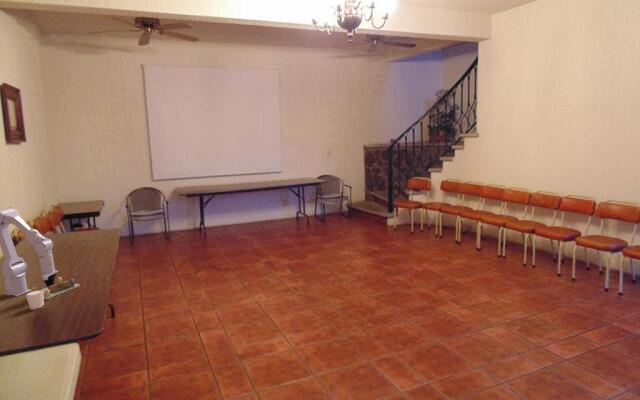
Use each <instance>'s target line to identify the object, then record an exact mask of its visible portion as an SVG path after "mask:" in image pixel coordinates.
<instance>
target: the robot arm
mask: <svg viewBox="0 0 640 400" xmlns="http://www.w3.org/2000/svg"><path fill="white" fill-rule="evenodd" d="M10 224H11V225H14V226H15V227H16V228H17V229H19V230H20V231H21V232H23V233H24V236H25V237H24V238H25V239H26V240H27V241H29V243H31V245H33V246H34V250H35V252H36V253H37V256H38V257H39V264H40V272H41V276H42V277H41V280H42V281H43V282H44V283H45V285H46V288H48V286H50V285H54V284H55V281H56V278H57V273H58V271H59V270H58V269H57V270H56V268H55V262H54V256H53V249H54V246H55V243H54V241H53V240H52V239H50V238H47V237H44V236H43V235H42V234H41V232H39V230H38V229H36V228H31V227H30V226H29V225H28V224H27V223H26V221H24V219H22V217H21V216H20V212H19V211H18V210H17V209H16V208H15V207H13V206H10V207H9V206H8V207H7V208H3V209H0V250H1V252H2V255H3V258H4V261H3V263H2V265H1V268H2V275H3V277H4V278H5V280H4V287H5V292H6V293H4V295H5V296H11V295H13V296H12V297H19V296H22V295H24V294H27V293H29V292H32V290H31V289H29V288H28V285H27V280H26V274H27V273H26V272H28V269H29V268H28V265H27V263H26V262H25V260H24V258H23V257H20V256H18V253H17V251H16V250H17V249H16V248H15V247H16V246H14V245H15V244H14V242H13V240H12V237H11V233H10V232H9V229H8V227H9V226H10Z"/></svg>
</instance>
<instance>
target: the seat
mask: <svg viewBox="0 0 640 400" xmlns="http://www.w3.org/2000/svg"><path fill="white" fill-rule="evenodd" d="M56 281H57V283H61V282H63V277H62V276H58V277H56ZM77 287H78V288H80V287H81V285H80V284H79V283H75V285H74V286H72V287H68V288H65V289H62V290H59V291H55V292H52V293H50V290H48V288H47V287H45V288H42V289H41V290H42V291H43V297H44V300H47V299H49V298H51V297H54V296H56V295H58V296H60V295H59V294H61V293H63V294H65V293H64V292H66V291H68V290H70V291H72V290H71V289H73V290H75V289H78V288H77ZM74 288H75V289H74ZM30 290H32V291H31V292H33V291H38V290H37V286H35V287H31V289H30ZM68 292H69V291H68ZM66 293H67V292H66ZM61 295H62V294H61ZM56 297H57V296H56ZM54 298H55V297H54ZM51 299H52V298H51ZM49 300H50V299H49Z"/></svg>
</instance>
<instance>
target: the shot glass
mask: <svg viewBox="0 0 640 400" xmlns="http://www.w3.org/2000/svg"><path fill="white" fill-rule="evenodd" d="M25 297H26V300H27V304H28V306H29V307H28V308H29V310H37V308H39V309H41V308H43V307H44V306H45V301H44V300H45V299H44V297H43V291H42V289H40V290H39V289H38V290H37V291H33V292H32V291H29V292H27V293H25ZM43 305H44V306H43ZM42 306H43V307H42ZM40 307H41V308H40Z"/></svg>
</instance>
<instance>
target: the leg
mask: <svg viewBox="0 0 640 400" xmlns="http://www.w3.org/2000/svg"><path fill="white" fill-rule="evenodd" d="M75 284H76V283H75V279H74V278H70V279H68V280H67V279H66V280H65V281H62V282H61V283H58V282H57V283H54V285H50V286H48V290H50V293H52V292H55V291H59V290H62V289H65V288H68V287H72V286H74V285H75Z"/></svg>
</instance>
